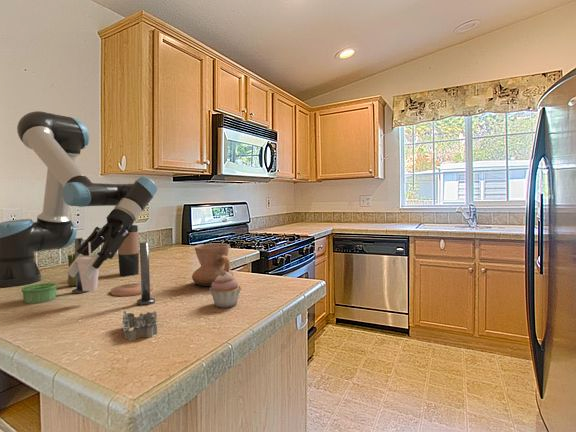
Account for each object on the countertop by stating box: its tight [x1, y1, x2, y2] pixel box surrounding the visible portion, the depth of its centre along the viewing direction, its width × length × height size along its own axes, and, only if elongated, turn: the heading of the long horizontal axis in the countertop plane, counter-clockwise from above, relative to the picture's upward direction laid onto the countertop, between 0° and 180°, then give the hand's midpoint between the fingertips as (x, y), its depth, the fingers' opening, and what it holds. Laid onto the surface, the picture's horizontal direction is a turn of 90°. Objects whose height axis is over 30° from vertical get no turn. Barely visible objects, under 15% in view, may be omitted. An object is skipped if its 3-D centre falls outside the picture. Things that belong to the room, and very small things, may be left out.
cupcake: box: [208, 271, 242, 309], centre depth 100 cm, size 9×9×10 cm
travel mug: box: [117, 224, 140, 277], centre depth 142 cm, size 8×8×20 cm
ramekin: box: [21, 282, 58, 305], centre depth 107 cm, size 9×9×4 cm
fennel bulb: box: [67, 251, 76, 287], centre depth 124 cm, size 6×5×12 cm
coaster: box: [110, 282, 154, 297], centre depth 117 cm, size 13×13×1 cm
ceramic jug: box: [191, 242, 234, 287], centre depth 124 cm, size 18×14×14 cm
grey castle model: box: [121, 310, 158, 341], centre depth 81 cm, size 11×8×4 cm
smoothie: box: [76, 242, 100, 292], centre depth 102 cm, size 6×6×14 cm
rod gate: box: [71, 237, 156, 306], centre depth 109 cm, size 35×5×18 cm, turn 65°
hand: (77, 275), depth 99 cm, fingers closed on smoothie, 6 cm apart
